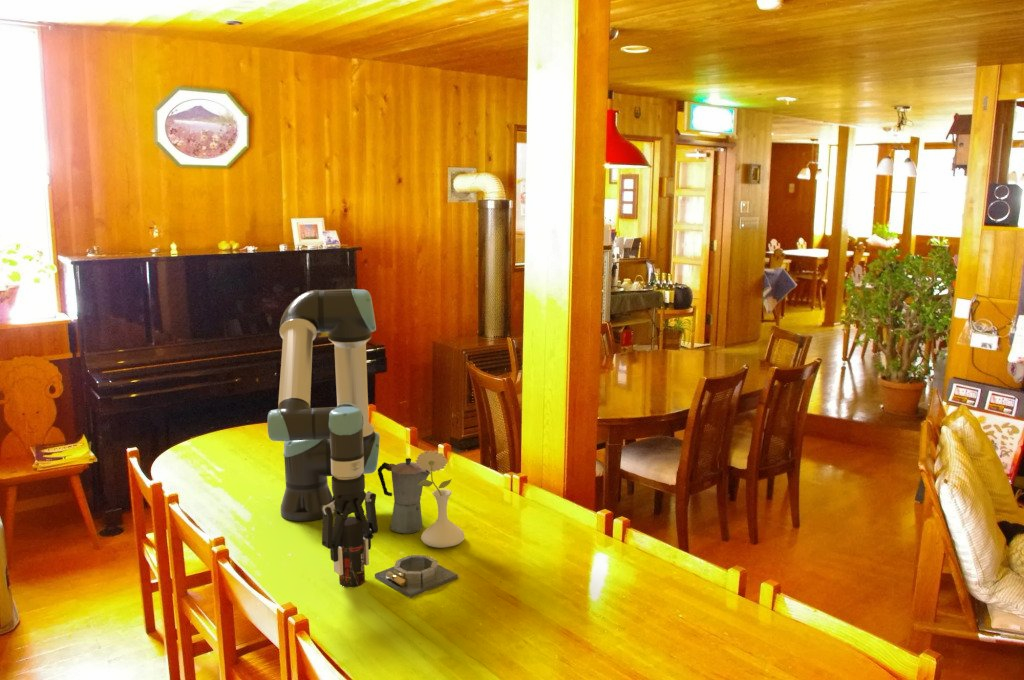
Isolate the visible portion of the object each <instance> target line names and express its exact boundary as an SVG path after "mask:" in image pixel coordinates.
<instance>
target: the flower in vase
mask: <svg viewBox="0 0 1024 680" xmlns="http://www.w3.org/2000/svg"><path fill="white" fill-rule="evenodd" d="M415 463H418V464H417V465H418V466H419V468H421V469H423V470H428V471H429V472H430V473H431V474H430V477H431V480H428V479H426V480H422V481H420V482H419V483H418V485H421V486H423V487H426V488H428V487H429V488H430V487H431V486H432V485H433V486H434V487H435V489H436V490H434V491H432V496H433V497H434V498H435V500H436V503H437V518H436V520H435V522H433V523H432V524H431V525H429V526H428V527H427V528H425V529H424V531H423V532H422V534H421V536H420V539H421V541H422V542H423V543H424V544H425V545H426V546H429V547H433V548H437V549H438V548H443V549H444V548H450V547H454V546H457V545H459V544H461V543H462V542H463V541H464V539H465V537H466V536H465V533H464V530H462V528H461V527H459V526H458V525H456V524H454V523H453V522H452V521H451V520H449V518H448V512H447V511H448V509H447V508H448V502H449V499H450V496H452V494H453V493H452V490H450V489H445V488H446V487H448V485H449V486H450V483H451V482H452V478H450V479H448V480H444V481H442V482H441V483H440V484H439V486H437V485H436V483H435V482H434V480H433V473H435V472H438V471H441V470H443V469H445V467H446V466H447V464H448V459H447V458H446V455H444V454H443V453H442V452H439V451H438V450H434V451H433V450H431V449H430V450H429V451H428V450H425V451H424V452H420V454H418V455H417V457H416V460H415Z"/></svg>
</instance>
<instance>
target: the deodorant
mask: <svg viewBox="0 0 1024 680" xmlns="http://www.w3.org/2000/svg"><path fill="white" fill-rule="evenodd" d="M339 546H340V547H341V548H342V558H343V574H342V575H339V574H338V577H339V578H338V580H339V585H340V586H341V585H342V586H341V587H343V586H344V588H348V587H352V588H358V587H361V586H362V585H363V584H365V582H366V575H365V574H366V573H365V571H366V570H365V565H364V540H363V520H360V519H358V518H356V517H355V516H348V517H347V520H345V524H344V526H343V532H342V536H341V540H340V544H339Z"/></svg>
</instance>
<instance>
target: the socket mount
mask: <svg viewBox="0 0 1024 680" xmlns="http://www.w3.org/2000/svg"><path fill="white" fill-rule="evenodd" d="M458 577H459V575H458V574H457V573H456V572H454V571H452V570H450V569H448V568H446V567H443V566H442V565H440V564H439V563H438V560H437V559H435V558H433V557H431V556H429V555H424V554H423V555H422V554H421V555H420V554H415V555H414V554H411V555H407V556H405V557H401V558H399V559H397V560H396V561H395V562H394V566H391V567H389V568H386V569H384V570H381V571H379V572H376V573H374V578H375V579H376V580H378V581H380V582H382V583H383V584H385V585H387V586H388V587H391V589H394V590H395V591H398V592H399V593H401V594H403V595H404V596H406V597H407V598H409V599H411V598H413V597H416V596H418V595H421V594H423V593H425V592H428V591H431V590H433V589H435V588H437V587H440V586H443V585H445V584H447V583H449V582H452V581H454V580H457V579H458Z"/></svg>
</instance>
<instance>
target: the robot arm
mask: <svg viewBox="0 0 1024 680" xmlns="http://www.w3.org/2000/svg"><path fill="white" fill-rule="evenodd" d="M373 305H374V304H373V301H372V295H371V293H370V292H369V291H368V290H366V289H356V288H355V289H354V288H344V289H343V288H341V289H340V288H339V289H338V288H337V289H313V290H312V289H311V290H308V291H306V292H303V293H302V294H300V295H298V296H297V297H296V298H294V300H292V301H291V302H290V304H289V305H288V306H287V307H286V308H285V310H284V312H283V314H282V316H281V319H280V323H279V331H278V332H279V336H280V338H281V339H282V346H281V347H282V348H281V359H280V360H281V361H280V365H281V366H280V374H279V375H280V376H279V377H280V378H279V390H278V403H277V404H278V406H277V408H276V409H271V410H269V411H268V412H267V413H268V414H267V423H266V424H267V435H268V438H269V440H270V441H274V442H284V443H283V457H284V458H283V459H284V471H285V472H284V473H285V474H284V475H285V479H284V480H285V488H284V490H285V491H284V493H283V497H282V501H281V504H280V515H281V517H282V518H283V519H285V520H288V521H293V522H310V521H317V520H320V519H322V530H321V531H322V532H321V534H322V535H321V545H322V546H323V547H324V548H327V549H329V550H330V551H329V552H330V553H329V554H330V560H331V561H333V572H334V573H336V574H338V576H339V575H342V574H343V558H342V548H341V547H340V546H339V544H340V540H341V536H342V532H343V526H344V524H345V520H347V517H349V515H352V514H353V515H354V517H356V518H358V519H360V520H363V540H364V566H366V567H367V566H369V565H370V556H369V555H370V552H369V550H372V549H371V548H372V541H371V540H372V539H373V538H374V534H377V533H378V532H379V527H378V526H379V525H378V518H377V517H378V516H377V510H376V499H377V494H376V493H374V492H372V491H369V490H368V491H365V489H366V481H365V478H366V475H367V474H368V475H369V474H374V473H375V472H376V470H377V467H378V461H379V451H380V440H381V439H380V438H381V435H380V433H379V432H376V431H375V426H374V425H372V424H371V423H370V422H369V419H370V418H369V397H368V396H369V393H368V369H367V368H368V366H367V365H368V363H367V343H368V342H369V341H370V340H371V339H372V333H373V332H376V331H377V324H376V323H377V322H376V318H375V311H374V306H373ZM319 333H320V334H325V333H328V334H327V339H328V341H330V342H331V344H333V345H334V347H333V349H334V363H335V364H334V367H335V386H336V387H335V388H336V389H335V390H336V406H332V407H331V406H330V407H311V396H312V395H311V394H312V392H311V391H312V389H311V388H312V368H313V367H312V365H313V364H312V363H313V341H315V339H316V337H317V334H319ZM328 477H331V489H330V485H329V484H328V483H329V482H328ZM331 491H332V492H331ZM363 503H364V504H365V505H364V507H365V510H364V508H363ZM365 512H366V513H365ZM333 514H334V515H333Z"/></svg>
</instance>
